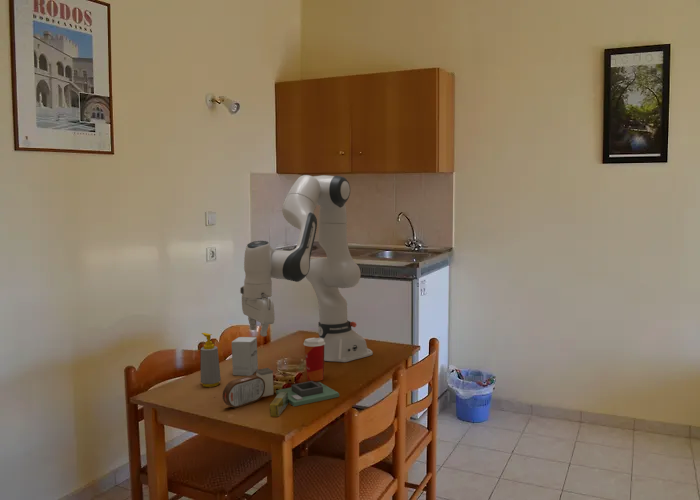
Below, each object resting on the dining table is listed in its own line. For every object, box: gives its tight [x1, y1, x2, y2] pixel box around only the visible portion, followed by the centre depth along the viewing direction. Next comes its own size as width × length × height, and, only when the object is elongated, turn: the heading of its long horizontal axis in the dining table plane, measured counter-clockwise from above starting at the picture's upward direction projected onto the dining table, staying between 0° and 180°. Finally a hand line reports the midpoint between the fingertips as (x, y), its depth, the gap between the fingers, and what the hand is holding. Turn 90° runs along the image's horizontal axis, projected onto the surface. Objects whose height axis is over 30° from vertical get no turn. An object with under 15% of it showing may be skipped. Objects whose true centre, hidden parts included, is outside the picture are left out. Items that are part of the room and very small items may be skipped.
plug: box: [255, 367, 275, 398], centre depth 210 cm, size 4×4×8 cm
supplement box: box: [231, 336, 259, 377], centre depth 234 cm, size 7×7×13 cm
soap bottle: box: [200, 332, 222, 388], centre depth 221 cm, size 7×7×18 cm
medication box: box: [269, 391, 290, 417], centre depth 196 cm, size 12×3×4 cm, turn 171°
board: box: [275, 380, 340, 407], centre depth 208 cm, size 16×14×3 cm
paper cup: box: [303, 337, 325, 382], centre depth 225 cm, size 8×8×14 cm
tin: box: [222, 374, 265, 408], centre depth 202 cm, size 15×3×8 cm, turn 136°
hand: (258, 332), depth 210 cm, fingers open, 8 cm apart
